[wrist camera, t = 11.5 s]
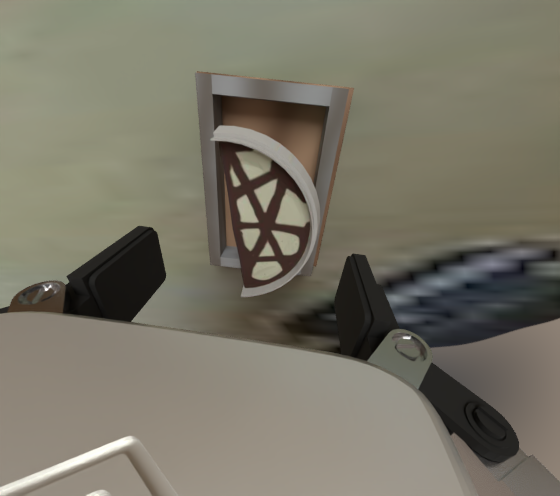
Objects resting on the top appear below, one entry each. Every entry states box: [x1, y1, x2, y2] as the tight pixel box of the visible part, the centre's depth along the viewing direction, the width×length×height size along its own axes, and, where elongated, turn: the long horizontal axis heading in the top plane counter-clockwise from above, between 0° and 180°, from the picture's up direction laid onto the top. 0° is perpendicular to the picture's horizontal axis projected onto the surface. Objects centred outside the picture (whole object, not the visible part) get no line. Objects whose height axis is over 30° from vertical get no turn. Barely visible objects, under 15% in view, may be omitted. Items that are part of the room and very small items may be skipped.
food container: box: [210, 126, 320, 297], centre depth 19 cm, size 12×6×10 cm, turn 3°
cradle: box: [195, 71, 354, 276], centre depth 23 cm, size 13×18×4 cm
